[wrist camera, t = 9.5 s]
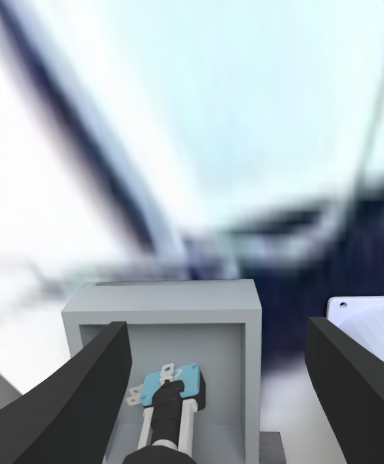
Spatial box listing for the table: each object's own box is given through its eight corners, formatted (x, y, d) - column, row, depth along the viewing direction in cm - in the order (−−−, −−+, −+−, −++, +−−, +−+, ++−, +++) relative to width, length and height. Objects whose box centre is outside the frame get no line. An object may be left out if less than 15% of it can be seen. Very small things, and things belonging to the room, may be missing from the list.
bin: (253, 279, 22) (261, 308, 18) (251, 427, 27) (258, 475, 23) (85, 282, 23) (61, 311, 19) (112, 425, 28) (96, 471, 24)
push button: (143, 409, 26) (104, 565, 17) (119, 362, 25) (62, 503, 15) (215, 393, 25) (217, 550, 16) (194, 343, 24) (184, 483, 14)
